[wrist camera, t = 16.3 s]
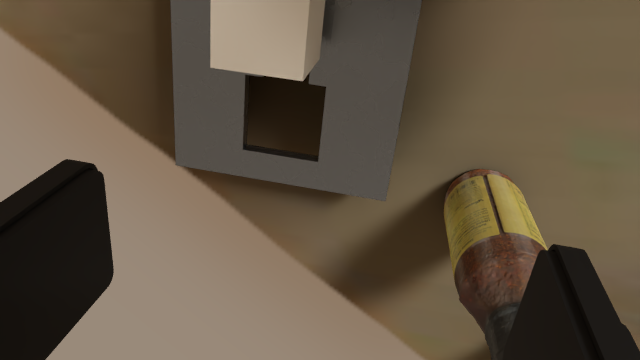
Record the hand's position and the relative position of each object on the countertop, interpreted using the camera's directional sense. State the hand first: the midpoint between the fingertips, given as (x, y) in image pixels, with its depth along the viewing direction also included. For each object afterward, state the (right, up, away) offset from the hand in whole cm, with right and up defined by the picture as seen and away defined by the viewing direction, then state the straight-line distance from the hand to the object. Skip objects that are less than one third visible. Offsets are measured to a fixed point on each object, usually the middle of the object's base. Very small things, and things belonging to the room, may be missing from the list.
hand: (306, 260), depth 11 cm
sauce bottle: (+14, 0, +32) cm, 35 cm away
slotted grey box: (-1, +12, +29) cm, 31 cm away
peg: (0, +15, +27) cm, 31 cm away
